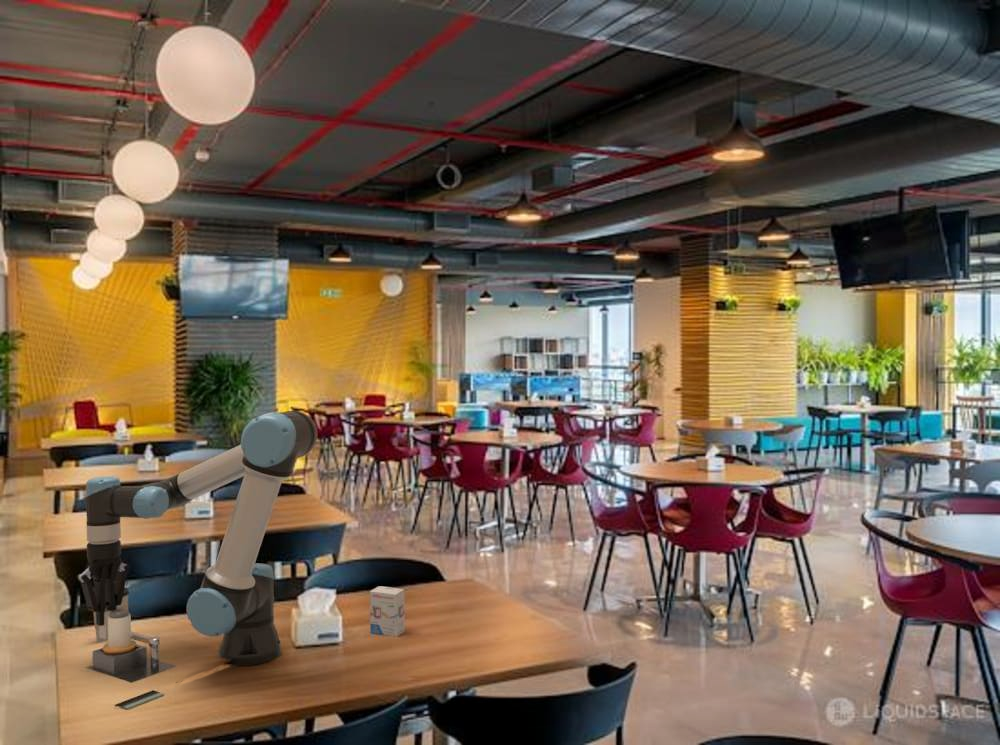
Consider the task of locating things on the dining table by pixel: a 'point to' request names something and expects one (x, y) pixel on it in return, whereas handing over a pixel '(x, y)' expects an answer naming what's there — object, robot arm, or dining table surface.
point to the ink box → (387, 611)
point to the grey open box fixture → (129, 663)
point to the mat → (139, 700)
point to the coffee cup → (123, 606)
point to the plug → (119, 633)
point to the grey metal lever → (146, 639)
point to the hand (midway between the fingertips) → (105, 637)
